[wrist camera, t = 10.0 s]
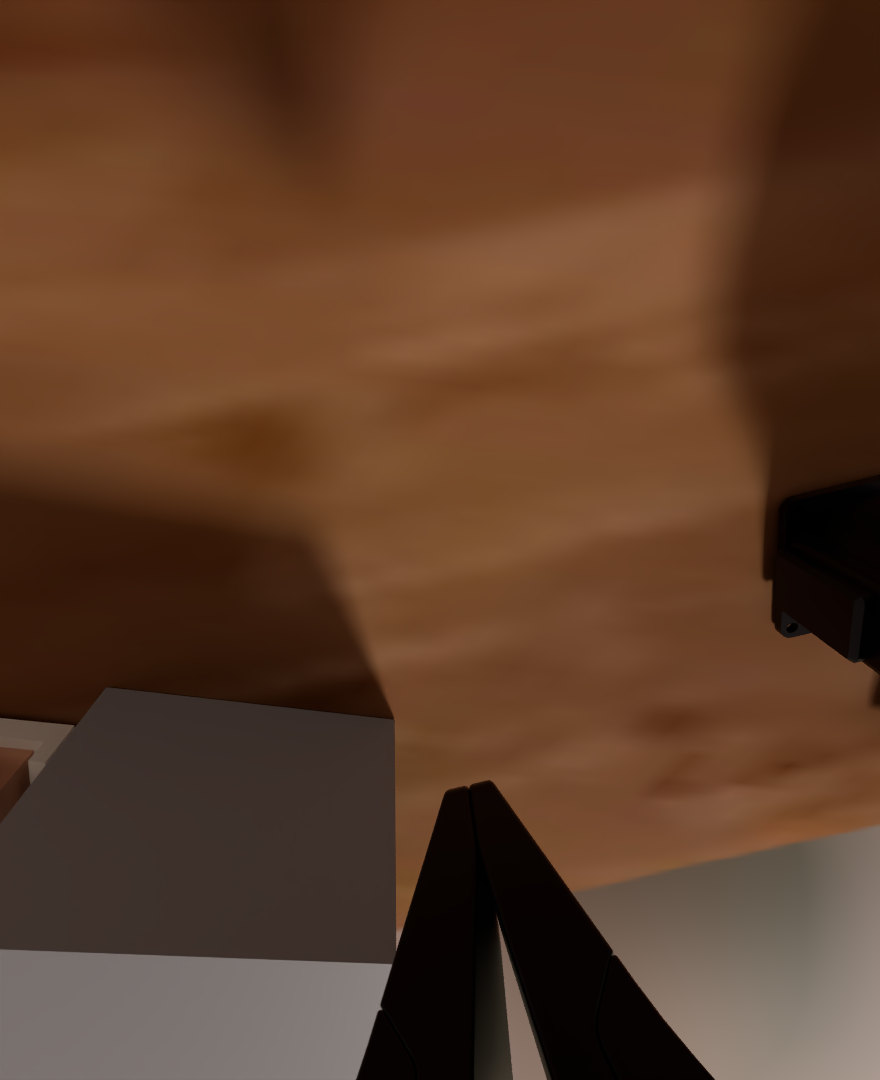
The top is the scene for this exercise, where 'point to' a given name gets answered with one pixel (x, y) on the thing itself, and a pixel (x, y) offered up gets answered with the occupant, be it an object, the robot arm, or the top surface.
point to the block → (13, 777)
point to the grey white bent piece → (34, 740)
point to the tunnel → (199, 894)
